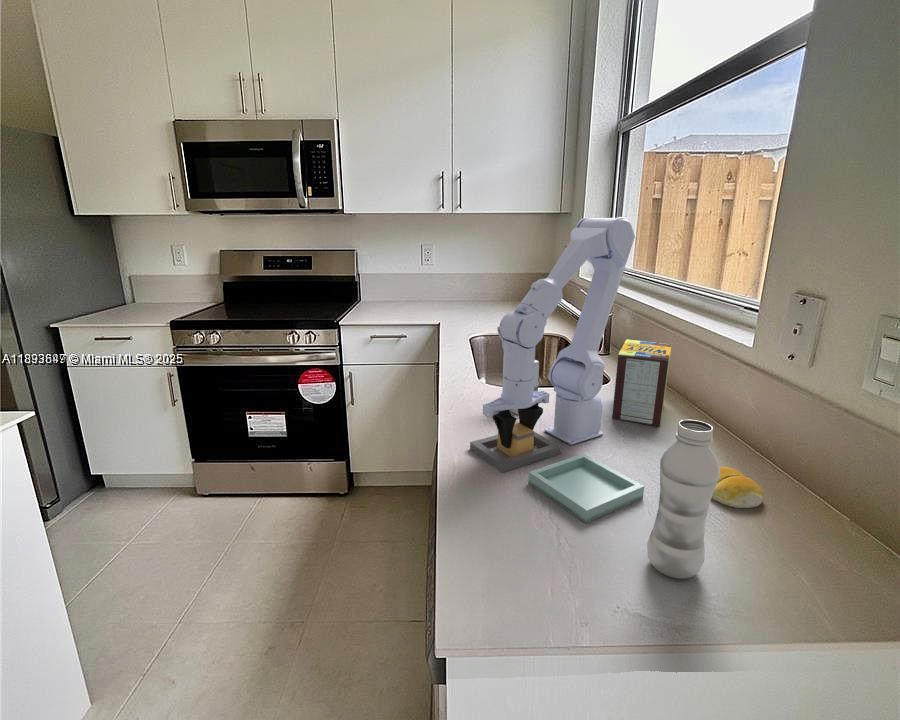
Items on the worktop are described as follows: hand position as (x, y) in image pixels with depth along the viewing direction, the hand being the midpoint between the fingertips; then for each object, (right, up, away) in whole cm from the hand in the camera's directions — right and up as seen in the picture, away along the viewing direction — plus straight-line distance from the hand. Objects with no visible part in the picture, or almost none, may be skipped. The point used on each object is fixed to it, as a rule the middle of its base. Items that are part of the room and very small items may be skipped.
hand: (515, 443), depth 91 cm
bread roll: (+34, -6, -14) cm, 37 cm away
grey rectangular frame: (0, -2, 0) cm, 2 cm away
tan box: (0, -2, 0) cm, 2 cm away
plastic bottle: (+16, -11, -31) cm, 36 cm away
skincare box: (+5, +4, +21) cm, 22 cm away
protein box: (+32, +4, +20) cm, 38 cm away
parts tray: (+10, -6, -13) cm, 17 cm away
